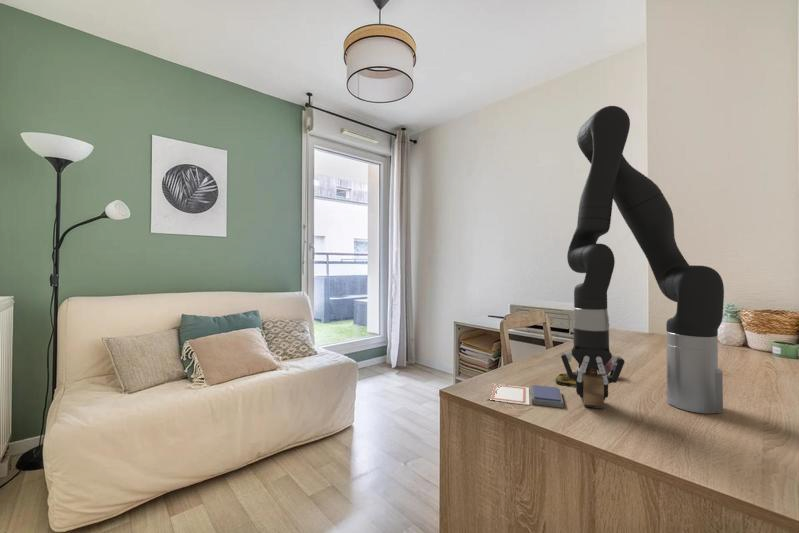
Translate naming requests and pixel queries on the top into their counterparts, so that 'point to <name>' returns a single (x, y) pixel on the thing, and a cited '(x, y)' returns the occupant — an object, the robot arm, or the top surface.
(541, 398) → the ink pad
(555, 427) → the top surface
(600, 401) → the stamp
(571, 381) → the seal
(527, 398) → the paper sheet
